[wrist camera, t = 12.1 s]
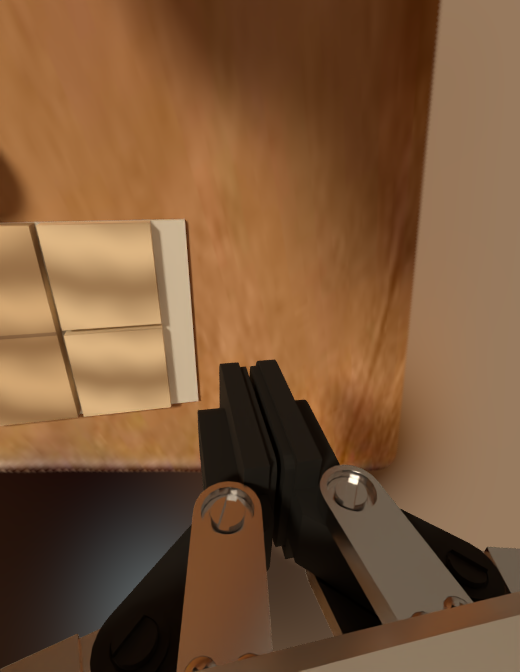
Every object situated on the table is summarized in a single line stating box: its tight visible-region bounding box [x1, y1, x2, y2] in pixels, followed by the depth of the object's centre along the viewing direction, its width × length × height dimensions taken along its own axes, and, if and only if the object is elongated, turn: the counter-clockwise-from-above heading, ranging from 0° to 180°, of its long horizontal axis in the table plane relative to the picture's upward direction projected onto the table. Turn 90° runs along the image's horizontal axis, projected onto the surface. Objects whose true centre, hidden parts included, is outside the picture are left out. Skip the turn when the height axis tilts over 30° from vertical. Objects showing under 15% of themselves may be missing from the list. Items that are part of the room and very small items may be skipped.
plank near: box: [36, 220, 162, 331], centre depth 30 cm, size 8×8×1 cm
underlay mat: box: [6, 219, 198, 414], centre depth 32 cm, size 18×20×1 cm
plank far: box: [64, 323, 171, 417], centre depth 34 cm, size 8×8×1 cm
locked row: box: [0, 223, 81, 426], centre depth 31 cm, size 18×8×1 cm, turn 179°
